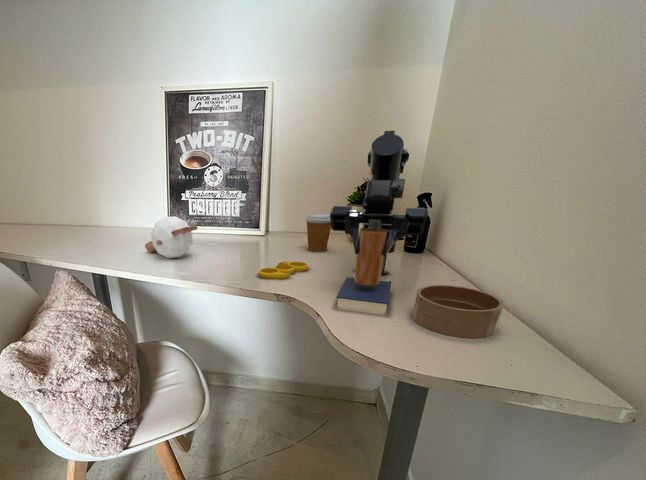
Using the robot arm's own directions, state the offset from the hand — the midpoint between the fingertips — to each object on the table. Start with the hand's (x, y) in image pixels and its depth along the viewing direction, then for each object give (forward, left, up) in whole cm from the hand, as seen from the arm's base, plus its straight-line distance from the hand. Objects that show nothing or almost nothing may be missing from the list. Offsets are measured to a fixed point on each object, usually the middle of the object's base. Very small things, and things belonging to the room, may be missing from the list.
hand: (370, 254), depth 68 cm
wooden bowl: (-6, +16, -11) cm, 20 cm away
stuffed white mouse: (+27, -62, -11) cm, 68 cm away
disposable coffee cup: (-22, -46, -11) cm, 52 cm away
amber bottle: (-1, -1, -6) cm, 7 cm away
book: (-1, -1, -11) cm, 11 cm away
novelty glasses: (+3, -28, -11) cm, 30 cm away
